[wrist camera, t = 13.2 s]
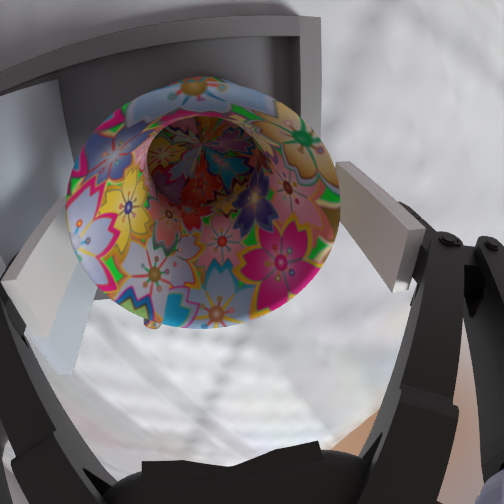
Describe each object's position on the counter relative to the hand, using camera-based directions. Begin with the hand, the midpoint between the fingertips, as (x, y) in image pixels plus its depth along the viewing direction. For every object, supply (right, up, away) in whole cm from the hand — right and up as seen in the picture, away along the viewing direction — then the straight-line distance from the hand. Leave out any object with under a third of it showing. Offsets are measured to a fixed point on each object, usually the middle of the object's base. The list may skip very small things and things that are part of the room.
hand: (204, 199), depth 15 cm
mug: (-1, +3, +5) cm, 6 cm away
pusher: (-13, +2, +3) cm, 13 cm away
